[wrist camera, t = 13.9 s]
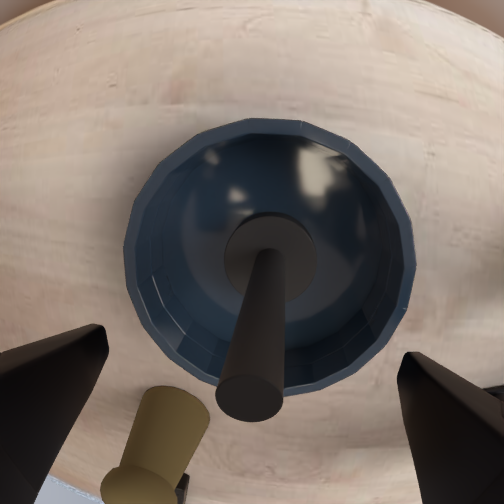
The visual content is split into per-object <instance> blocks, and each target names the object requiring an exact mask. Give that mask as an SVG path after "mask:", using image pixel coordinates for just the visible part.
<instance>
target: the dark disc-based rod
mask: <svg viewBox="0 0 504 504" xmlns="http://www.w3.org/2000/svg"><path fill="white" fill-rule="evenodd" d="M224 266H225V271H226V274H227V277H228V279H229V281H230V282H231V284H232V286H233V287H234V288H235V289H236V290H237V291H238V292H239V293H240V294H241V295H243V296H244V299H243V303H242V306H241V309H240V313H239V316H238V319H237V323H236V326H235V329H234V333H233V336H232V339H231V342H230V346H229V349H228V352H227V356H226V359H225V362H224V366H223V369H222V372H221V375H220V379H219V382H218V385H217V389H216V393H215V397H216V401H217V404H218V406H219V407H220V409H221V410H222V411H223V412H224V413H226V414H227V415H228V416H230V417H232V418H234V419H237V420H240V421H245V422H260V421H264V420H267V419H269V418H271V417H273V416H274V415H276V414H277V413H278V412H279V410H280V409H281V407H282V404H283V391H284V353H285V303H286V302H289V301H291V300H293V299H295V298H297V297H298V296H300V295H301V294H302V293H303V292H304V291H305V290H306V289H307V288H308V287H309V285H310V284H311V282H312V280H313V278H314V276H315V273H316V268H317V253H316V249H315V246H314V243H313V240H312V238H311V235H310V234H309V232H308V230H307V229H306V228H305V227H304V226H303V225H302V223H300V222H299V221H298V220H297V219H295V218H293V217H292V216H289V215H287V214H284V213H280V212H262V213H258V214H255V215H253V216H251V217H249V218H247V219H246V220H244V221H243V222H242V223H241V224H240V225H239V226H238V227H237V228H236V230H235V231H234V233H233V234H232V235H231V237H230V239H229V240H228V243H227V245H226V248H225V252H224Z"/></svg>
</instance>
